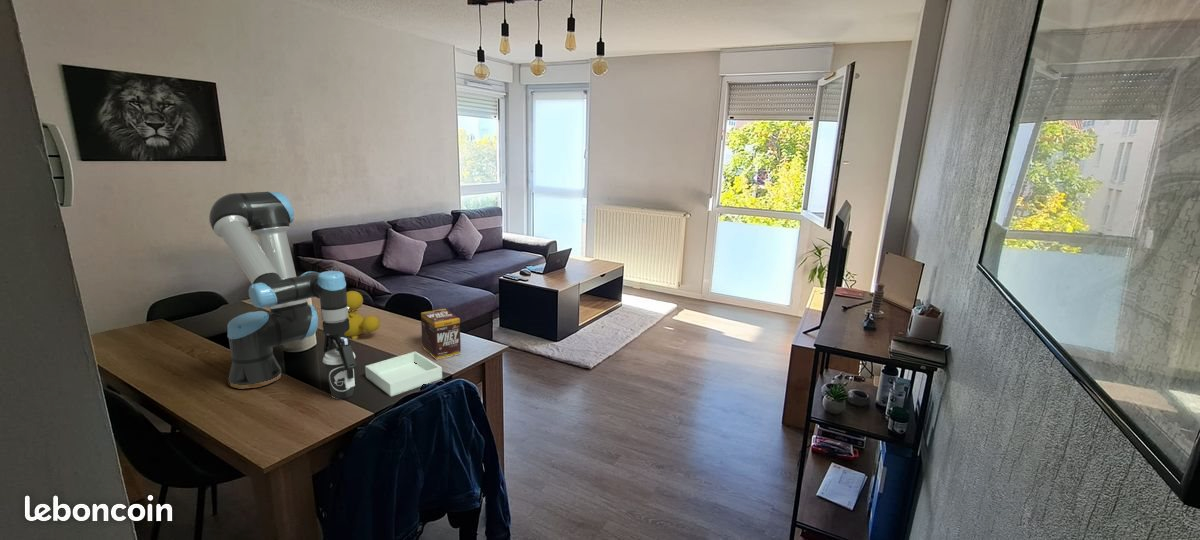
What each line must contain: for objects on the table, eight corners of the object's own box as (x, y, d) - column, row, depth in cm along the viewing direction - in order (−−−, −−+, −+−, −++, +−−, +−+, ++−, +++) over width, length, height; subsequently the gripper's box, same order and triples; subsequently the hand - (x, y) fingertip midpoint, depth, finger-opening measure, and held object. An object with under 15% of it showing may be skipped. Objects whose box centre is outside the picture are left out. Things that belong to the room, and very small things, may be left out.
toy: (322, 333, 211) (317, 289, 206) (343, 326, 220) (339, 283, 215) (363, 346, 200) (360, 300, 195) (384, 338, 209) (381, 294, 204)
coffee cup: (364, 388, 167) (361, 348, 163) (347, 402, 157) (343, 359, 154) (338, 386, 167) (334, 345, 164) (319, 399, 158) (315, 357, 154)
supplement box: (436, 361, 190) (434, 323, 186) (422, 347, 201) (420, 312, 197) (461, 354, 196) (460, 318, 193) (446, 342, 208) (445, 307, 204)
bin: (390, 396, 162) (390, 384, 161) (366, 377, 174) (365, 366, 173) (442, 378, 176) (441, 367, 175) (415, 362, 188) (415, 351, 187)
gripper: (364, 326, 151) (369, 388, 156) (332, 307, 167) (338, 364, 172) (338, 332, 145) (345, 397, 150) (308, 312, 161) (315, 371, 166)
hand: (341, 380), depth 161 cm, fingers open, 13 cm apart
